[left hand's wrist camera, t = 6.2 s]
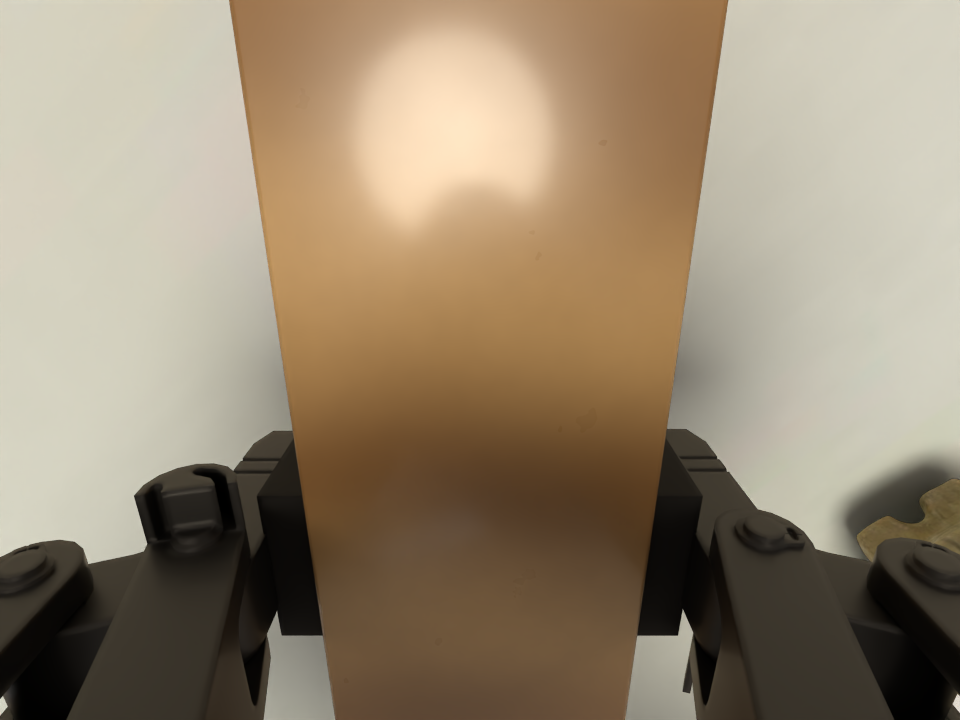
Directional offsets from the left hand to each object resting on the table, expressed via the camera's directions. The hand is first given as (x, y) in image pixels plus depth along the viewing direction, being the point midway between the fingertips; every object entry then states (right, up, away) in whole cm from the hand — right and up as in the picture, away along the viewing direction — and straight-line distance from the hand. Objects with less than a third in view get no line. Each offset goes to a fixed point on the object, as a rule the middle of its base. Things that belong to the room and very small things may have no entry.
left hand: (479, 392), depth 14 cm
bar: (0, +32, -12) cm, 34 cm away
